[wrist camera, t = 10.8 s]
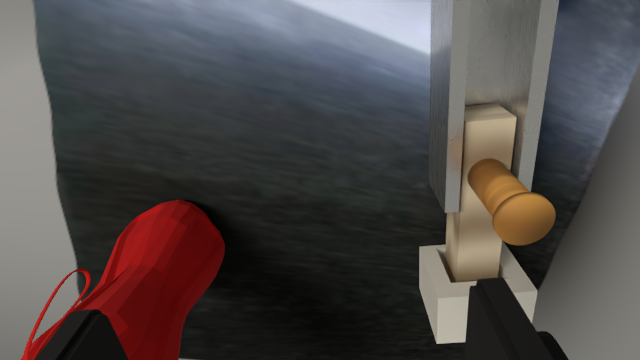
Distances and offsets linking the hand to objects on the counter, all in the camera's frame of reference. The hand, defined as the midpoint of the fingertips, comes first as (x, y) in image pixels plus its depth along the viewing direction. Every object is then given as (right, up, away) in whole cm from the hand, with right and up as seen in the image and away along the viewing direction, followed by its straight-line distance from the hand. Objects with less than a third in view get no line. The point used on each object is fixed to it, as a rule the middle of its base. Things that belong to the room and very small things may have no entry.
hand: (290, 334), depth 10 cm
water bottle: (-15, -1, +33) cm, 36 cm away
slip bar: (+16, +2, +29) cm, 33 cm away
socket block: (+17, -6, +34) cm, 38 cm away
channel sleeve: (+14, +12, +25) cm, 32 cm away
